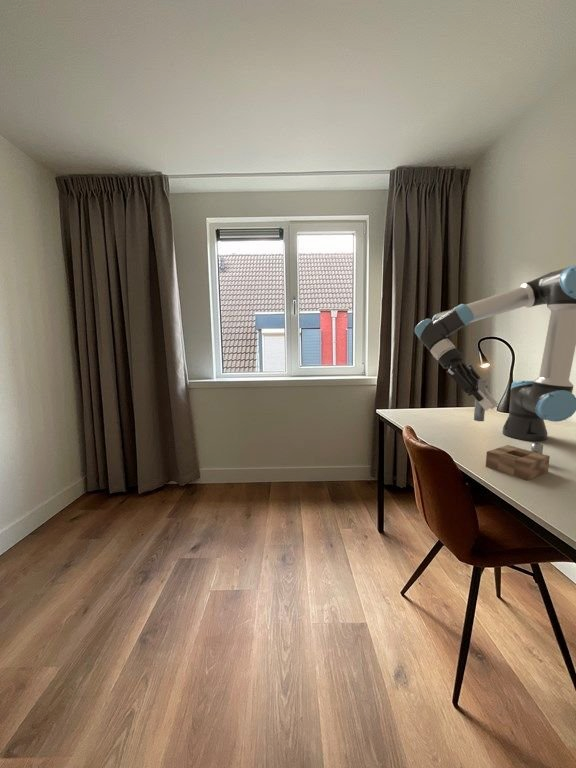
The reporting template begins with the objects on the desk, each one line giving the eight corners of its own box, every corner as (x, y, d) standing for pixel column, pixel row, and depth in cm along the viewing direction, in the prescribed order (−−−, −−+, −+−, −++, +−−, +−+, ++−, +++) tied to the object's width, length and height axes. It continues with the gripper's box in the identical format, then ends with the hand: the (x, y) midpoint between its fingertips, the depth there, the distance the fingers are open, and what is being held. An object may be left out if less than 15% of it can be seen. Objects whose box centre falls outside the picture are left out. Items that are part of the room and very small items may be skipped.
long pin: (477, 418, 115) (479, 378, 113) (485, 420, 112) (488, 379, 110) (471, 419, 113) (474, 379, 111) (480, 421, 111) (483, 380, 109)
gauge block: (506, 459, 112) (507, 445, 111) (548, 471, 102) (549, 456, 101) (485, 466, 106) (486, 451, 105) (527, 480, 96) (528, 463, 95)
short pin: (533, 459, 112) (534, 442, 111) (543, 462, 109) (545, 444, 108) (528, 461, 110) (530, 443, 109) (538, 464, 108) (540, 446, 107)
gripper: (451, 360, 127) (494, 410, 116) (426, 362, 118) (470, 417, 107) (466, 346, 122) (513, 397, 111) (441, 348, 113) (489, 403, 102)
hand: (492, 407), depth 109 cm, fingers closed on long pin, 3 cm apart
